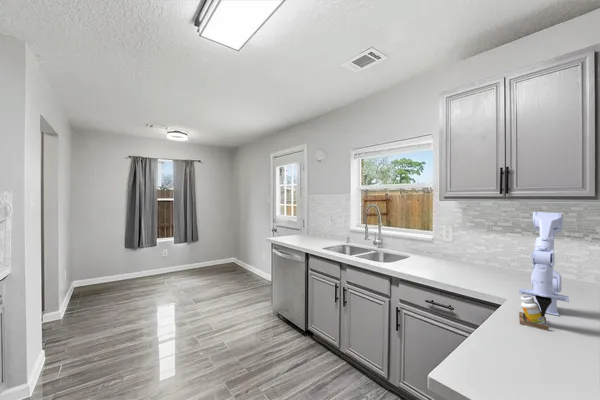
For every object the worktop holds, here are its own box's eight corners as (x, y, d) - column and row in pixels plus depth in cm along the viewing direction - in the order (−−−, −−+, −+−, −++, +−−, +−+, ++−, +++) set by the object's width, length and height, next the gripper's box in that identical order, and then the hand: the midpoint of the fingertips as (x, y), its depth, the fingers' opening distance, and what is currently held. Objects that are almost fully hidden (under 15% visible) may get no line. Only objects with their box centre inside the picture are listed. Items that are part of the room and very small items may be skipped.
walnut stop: (519, 315, 115) (519, 311, 114) (545, 321, 109) (545, 317, 109) (519, 324, 106) (519, 320, 106) (548, 330, 101) (548, 326, 101)
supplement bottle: (528, 319, 111) (518, 295, 112) (544, 318, 107) (534, 294, 109) (528, 324, 107) (518, 300, 108) (545, 324, 103) (534, 299, 105)
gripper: (519, 279, 107) (519, 314, 107) (570, 287, 98) (570, 324, 98) (518, 276, 113) (518, 309, 112) (567, 283, 104) (567, 318, 103)
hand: (542, 316), depth 105 cm, fingers closed, pressing on supplement bottle
